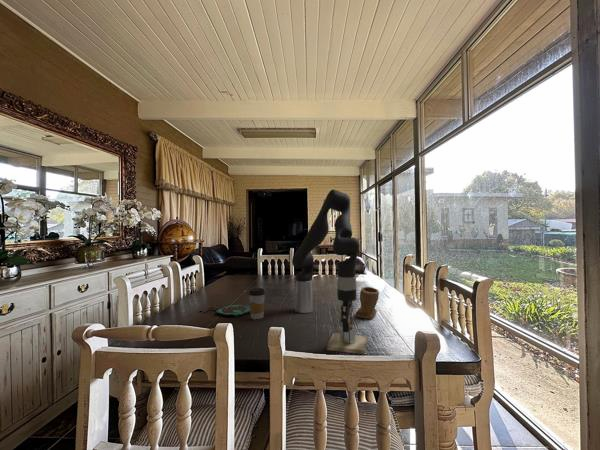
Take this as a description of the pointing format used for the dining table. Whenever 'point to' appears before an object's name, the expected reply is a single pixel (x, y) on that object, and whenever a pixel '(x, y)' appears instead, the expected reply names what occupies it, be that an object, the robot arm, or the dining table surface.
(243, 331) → the dining table surface
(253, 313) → the coffee cup
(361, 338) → the post stand
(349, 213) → the robot arm
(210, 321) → the dining table surface
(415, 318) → the dining table surface
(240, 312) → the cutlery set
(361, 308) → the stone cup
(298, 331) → the dining table surface
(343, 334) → the ring
